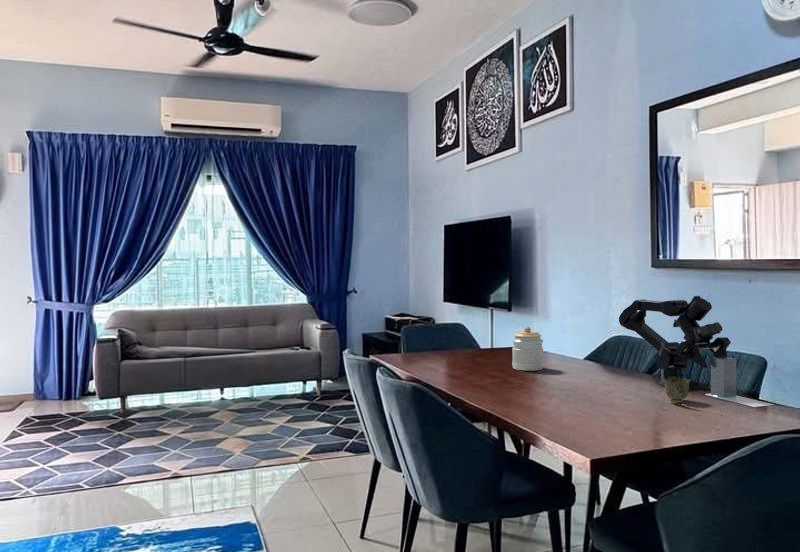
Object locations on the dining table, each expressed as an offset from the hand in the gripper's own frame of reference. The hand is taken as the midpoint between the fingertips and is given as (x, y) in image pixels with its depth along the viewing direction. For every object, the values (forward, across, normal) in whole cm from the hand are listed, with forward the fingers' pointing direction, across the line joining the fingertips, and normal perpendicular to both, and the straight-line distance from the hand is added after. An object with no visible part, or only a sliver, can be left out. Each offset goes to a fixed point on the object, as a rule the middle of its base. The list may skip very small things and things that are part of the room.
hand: (717, 366), depth 202 cm
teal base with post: (+9, 0, +5) cm, 10 cm away
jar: (-42, -29, +58) cm, 77 cm away
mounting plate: (+13, 0, +1) cm, 13 cm away
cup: (+9, -19, +5) cm, 22 cm away
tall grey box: (+8, 0, +4) cm, 9 cm away
